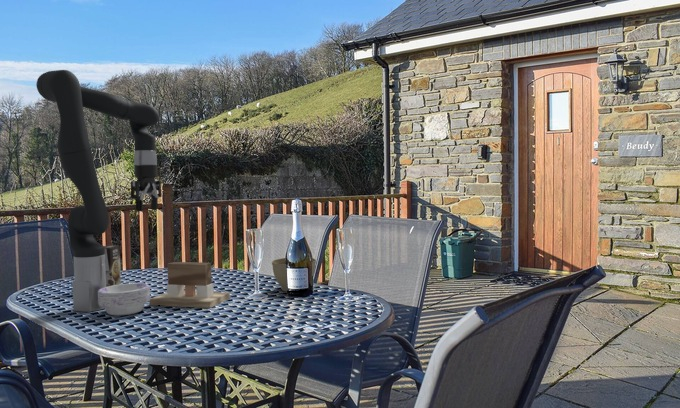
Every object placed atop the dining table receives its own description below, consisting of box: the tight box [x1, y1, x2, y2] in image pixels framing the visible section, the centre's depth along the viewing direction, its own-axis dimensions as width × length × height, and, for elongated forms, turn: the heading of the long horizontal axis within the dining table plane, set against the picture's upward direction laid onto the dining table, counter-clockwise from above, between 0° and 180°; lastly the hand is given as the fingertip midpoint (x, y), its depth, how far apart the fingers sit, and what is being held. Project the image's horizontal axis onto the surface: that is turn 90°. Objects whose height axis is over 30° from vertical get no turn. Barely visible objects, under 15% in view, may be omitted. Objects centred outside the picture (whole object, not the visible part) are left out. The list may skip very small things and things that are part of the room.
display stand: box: [148, 283, 231, 309], centre depth 187 cm, size 14×22×6 cm, turn 75°
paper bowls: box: [98, 282, 151, 316], centre depth 174 cm, size 15×15×8 cm
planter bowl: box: [271, 257, 317, 292], centre depth 203 cm, size 16×16×11 cm
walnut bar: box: [166, 261, 213, 287], centre depth 186 cm, size 4×14×7 cm, turn 75°
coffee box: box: [103, 244, 122, 287], centre depth 211 cm, size 9×6×16 cm
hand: (147, 210), depth 194 cm, fingers open, 8 cm apart
